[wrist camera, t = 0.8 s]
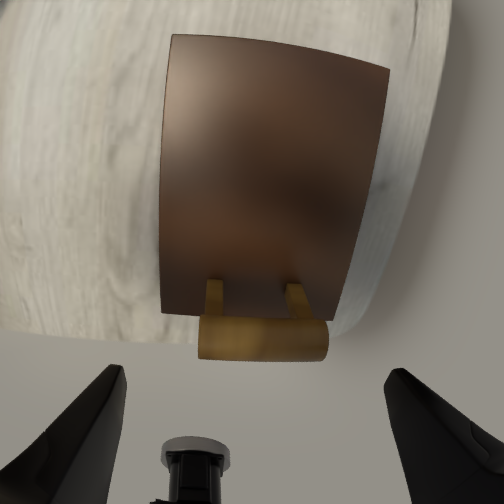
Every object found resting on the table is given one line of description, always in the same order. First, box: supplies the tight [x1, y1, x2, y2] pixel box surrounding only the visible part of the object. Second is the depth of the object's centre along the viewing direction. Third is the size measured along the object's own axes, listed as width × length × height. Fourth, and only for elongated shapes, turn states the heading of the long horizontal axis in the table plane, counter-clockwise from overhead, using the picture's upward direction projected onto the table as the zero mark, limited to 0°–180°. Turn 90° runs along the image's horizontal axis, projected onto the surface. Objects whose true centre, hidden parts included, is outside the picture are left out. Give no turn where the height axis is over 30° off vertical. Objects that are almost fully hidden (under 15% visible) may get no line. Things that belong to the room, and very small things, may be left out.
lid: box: [159, 34, 390, 362], centre depth 11 cm, size 12×8×5 cm
